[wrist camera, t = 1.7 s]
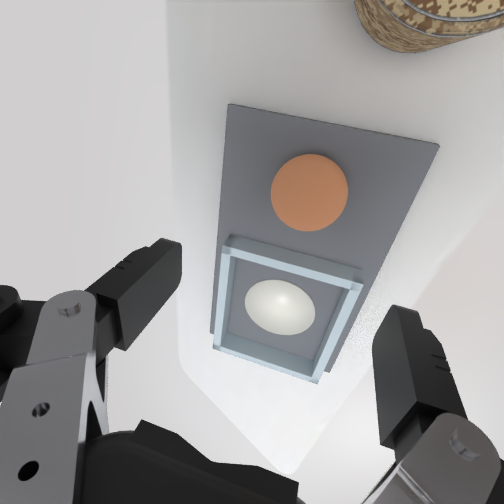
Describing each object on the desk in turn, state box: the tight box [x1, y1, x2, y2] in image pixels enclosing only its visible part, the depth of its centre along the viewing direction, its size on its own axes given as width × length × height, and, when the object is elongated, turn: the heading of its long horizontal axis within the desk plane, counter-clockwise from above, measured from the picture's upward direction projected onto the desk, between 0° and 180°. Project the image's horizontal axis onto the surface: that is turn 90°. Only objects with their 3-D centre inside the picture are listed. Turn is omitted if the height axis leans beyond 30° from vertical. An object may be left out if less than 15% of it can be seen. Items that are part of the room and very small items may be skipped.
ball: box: [271, 154, 348, 231], centre depth 19 cm, size 5×5×5 cm
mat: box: [210, 104, 440, 373], centre depth 26 cm, size 24×14×1 cm, turn 172°
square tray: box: [213, 234, 364, 384], centre depth 27 cm, size 14×12×2 cm
